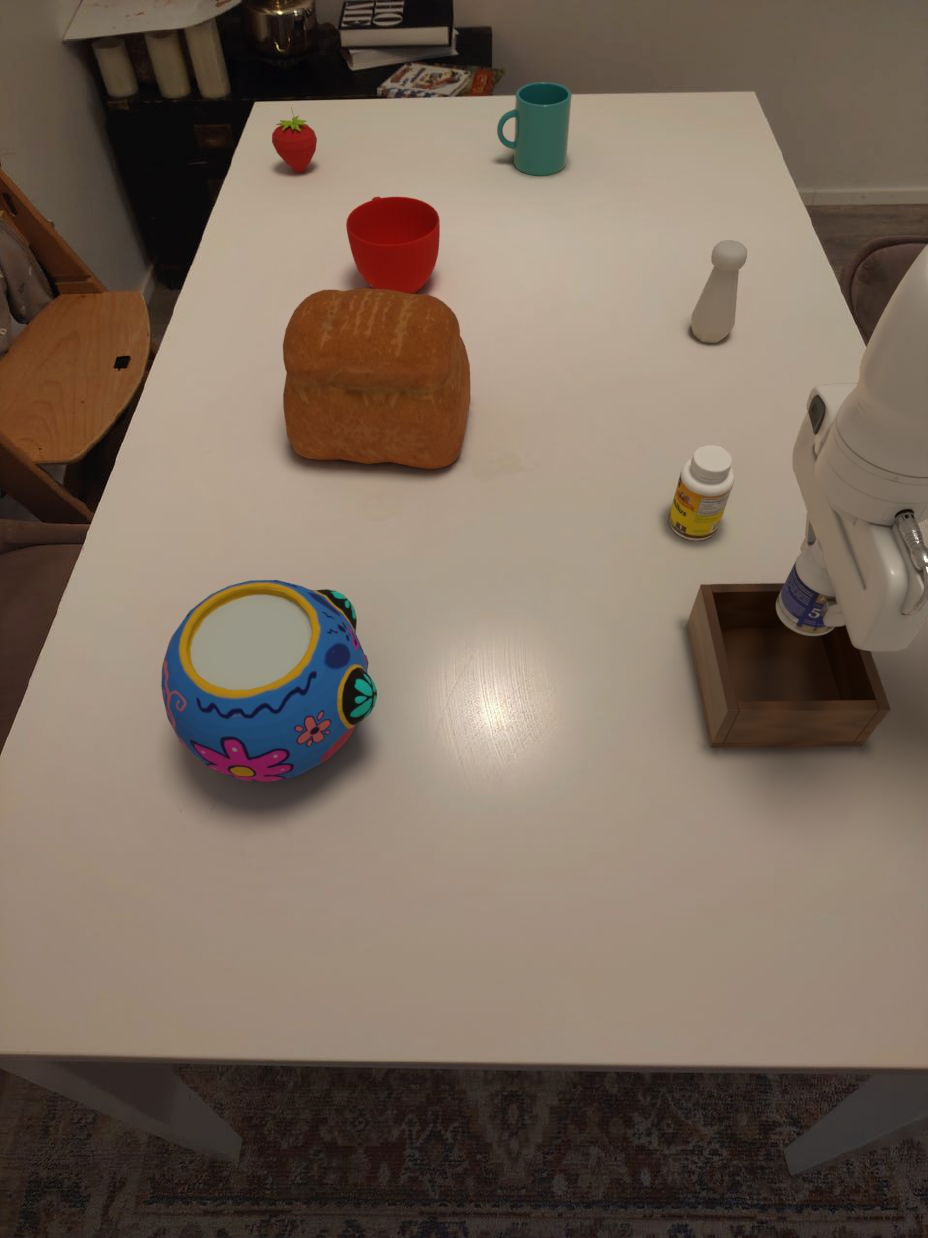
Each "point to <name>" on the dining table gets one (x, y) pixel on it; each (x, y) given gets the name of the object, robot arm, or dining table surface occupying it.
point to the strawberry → (295, 143)
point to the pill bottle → (806, 593)
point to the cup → (539, 128)
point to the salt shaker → (719, 293)
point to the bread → (376, 378)
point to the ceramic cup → (394, 242)
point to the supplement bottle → (702, 493)
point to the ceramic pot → (267, 679)
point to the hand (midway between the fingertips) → (820, 586)
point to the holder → (778, 675)
